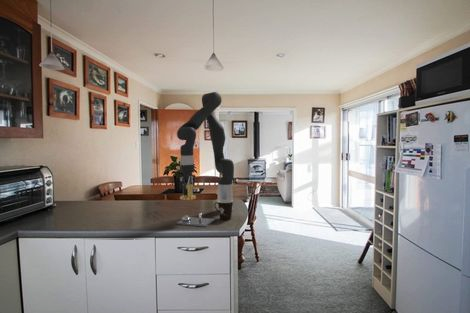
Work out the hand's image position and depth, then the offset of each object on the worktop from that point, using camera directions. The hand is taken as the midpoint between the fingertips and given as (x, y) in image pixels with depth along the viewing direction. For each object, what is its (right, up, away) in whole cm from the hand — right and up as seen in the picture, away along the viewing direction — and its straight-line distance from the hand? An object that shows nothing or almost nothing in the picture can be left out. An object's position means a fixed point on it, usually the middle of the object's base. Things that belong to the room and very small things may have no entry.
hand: (188, 194), depth 153 cm
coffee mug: (+20, -15, +7) cm, 26 cm away
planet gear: (0, -2, 0) cm, 2 cm away
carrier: (+5, -15, -1) cm, 16 cm away
